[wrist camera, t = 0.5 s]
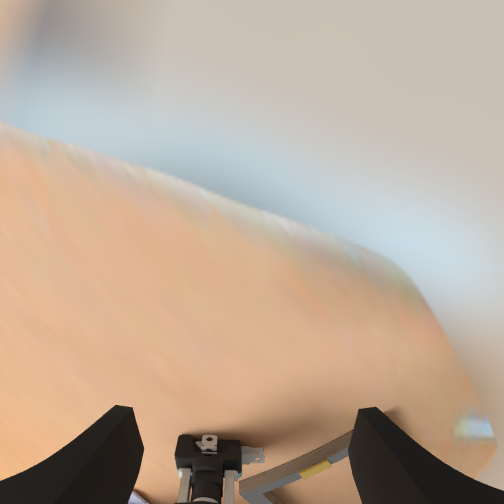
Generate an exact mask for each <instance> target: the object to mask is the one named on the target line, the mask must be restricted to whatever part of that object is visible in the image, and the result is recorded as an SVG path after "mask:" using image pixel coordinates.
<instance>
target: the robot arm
mask: <svg viewBox="0 0 504 504" xmlns="http://www.w3.org/2000/svg"><path fill="white" fill-rule="evenodd" d="M143 452H144V446H143V443H142V440H141V436H140V433H139V429H138V426H137V422H136V419H135V415H134V411H133V408H132V407H126V406H119V405H115V406H114V407H113V408H111V409H110V410H109V411H108V412H107V413H105V414H104V415H103V416H102V417H101V418H100V419H98V420H97V421H96V422H95V423H94V424H92V425H91V426H90V427H89V428H88V429H86V430H85V431H84V432H83V433H82V434H80V435H79V436H78V437H77V438H75V439H74V440H73V441H71V442H70V443H69V444H67V445H66V446H64V447H63V448H62V449H60V450H59V451H57V452H56V453H55V454H53V455H52V456H50V457H49V458H47V459H45V460H44V461H42V462H40V463H39V464H37V465H35V466H33V467H31V468H29V469H27V470H25V471H23V472H21V473H19V474H16V475H14V476H11V477H9V478H7V479H4V480H2V481H0V504H149V503H148V502H147V501H146V500H144V499H143V498H142V497H141V496H139V495H138V494H137V493H136V492H134V491H133V488H134V486H135V483H136V480H137V477H138V474H139V471H140V466H141V462H142V457H143ZM348 454H349V459H350V465H351V469H352V474H353V477H354V480H355V483H356V486H357V489H358V492H359V495H360V498H361V501H362V503H363V504H504V491H502V490H500V489H497V488H494V487H491V486H488V485H486V484H484V483H481V482H479V481H477V480H474V479H472V478H470V477H468V476H466V475H464V474H463V473H461V472H459V471H457V470H455V469H454V468H452V467H450V466H449V465H447V464H445V463H444V462H442V461H441V460H439V459H438V458H437V457H435V456H434V455H432V454H431V453H430V452H428V451H427V450H426V449H424V448H423V447H422V446H420V445H419V444H418V443H417V442H415V441H414V440H413V439H412V438H411V437H409V436H408V435H407V434H406V433H405V432H404V431H403V430H401V429H400V428H399V427H398V426H397V425H396V424H395V423H394V422H392V421H391V420H390V419H389V418H388V417H387V416H386V415H385V414H384V413H383V412H382V411H380V410H379V409H378V408H377V407H371V408H363V409H359V410H358V414H357V418H356V422H355V426H354V430H353V433H352V437H351V441H350V444H349V448H348Z"/></svg>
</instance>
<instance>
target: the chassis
mask: <svg viewBox="0 0 504 504" xmlns="http://www.w3.org/2000/svg"><path fill="white" fill-rule="evenodd" d="M352 433H353V430H352V431H350V432H349V433H347V434H345V435H343V436H341V437H339V438H338V439H336V440H334V441H332V442H330V443H328V444H326V445H324V446H322V447H320V448H318V449H316V450H314V451H312V452H310V453H308V454H305V455H303V456H301V457H299V458H297V459H294V460H292V461H290V462H288V463H285V464H283V465H281V466H278V467H276V468H273V469H271V470H269V471H266V472H263V473H261V474H258V475H256V476H253V477H250V478H248V479H245V480H242V481H239V494H240V495H241V496H242V497H244V498H245V499H246V500H247V501H248V502H249V503H251V504H284V503H283V502H282V501H280V500H279V499H278V498H277V497H276V496H275V495H274V494H273V493H272V492H271V490H274V489H276V488H279V487H281V486H284V485H286V484H289V483H291V482H294V481H296V480H298V479H301V478H303V479H305V478H308V477H310V476H312V475H314V474H317V473H319V472H321V471H323V470H325V469H327V468H329V467H331V464H333V463H335V462H337V461H339V460H341V459H343V458H345V457H347V456H349V454H348V448H349V444H350V441H351V437H352Z"/></svg>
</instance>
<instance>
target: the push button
mask: <svg viewBox="0 0 504 504" xmlns="http://www.w3.org/2000/svg"><path fill="white" fill-rule="evenodd" d="M207 438H212V439H213V440H207ZM255 450H259V452H258V453H255V452H254V451H255ZM263 452H264V448H263V447H262V448H249V446H241V442H240V441H239V440H217V436H216V435H203V436H202V439H192V437H191V436H190V435H180V436H179V437H178V441H177V446H176V450H175V460H176V466H177V471H178V474H179V478H181V483H180V489H179V495H178V500H177V503H175V504H221V497H223V478H225V488H224V504H234V481H237V480H238V478H240V477H241V476H242V464H249V463H263V462H264V459H265V456H264V455H263ZM250 455H251V456H250ZM255 458H260V460H258V461H256V460H255ZM191 487H192V496H191V501H190V502H189V497H190V489H191Z"/></svg>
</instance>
